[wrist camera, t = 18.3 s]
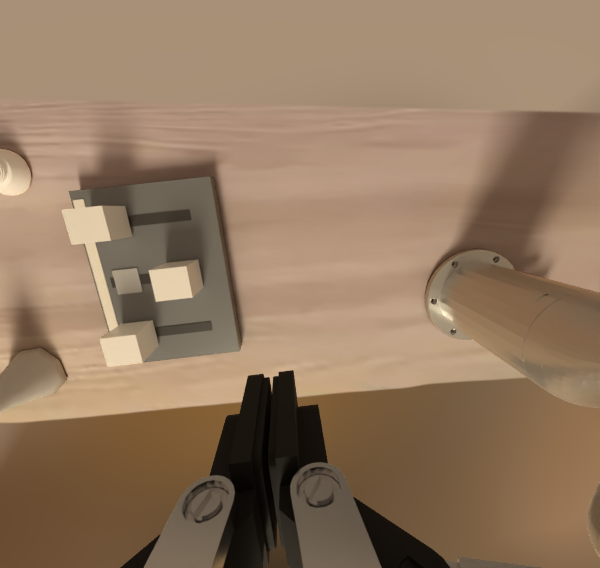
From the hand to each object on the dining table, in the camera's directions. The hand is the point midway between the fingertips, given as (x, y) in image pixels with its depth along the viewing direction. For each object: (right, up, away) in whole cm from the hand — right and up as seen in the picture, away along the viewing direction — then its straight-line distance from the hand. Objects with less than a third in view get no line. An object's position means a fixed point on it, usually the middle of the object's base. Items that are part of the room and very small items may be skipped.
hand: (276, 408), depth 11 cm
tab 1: (-21, +12, +24) cm, 34 cm away
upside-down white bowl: (-33, +18, +24) cm, 45 cm away
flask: (-35, -7, +30) cm, 47 cm away
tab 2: (-13, +6, +26) cm, 30 cm away
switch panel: (-16, +6, +28) cm, 33 cm away
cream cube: (-20, -2, +27) cm, 34 cm away
